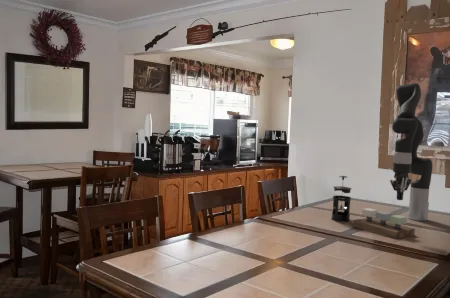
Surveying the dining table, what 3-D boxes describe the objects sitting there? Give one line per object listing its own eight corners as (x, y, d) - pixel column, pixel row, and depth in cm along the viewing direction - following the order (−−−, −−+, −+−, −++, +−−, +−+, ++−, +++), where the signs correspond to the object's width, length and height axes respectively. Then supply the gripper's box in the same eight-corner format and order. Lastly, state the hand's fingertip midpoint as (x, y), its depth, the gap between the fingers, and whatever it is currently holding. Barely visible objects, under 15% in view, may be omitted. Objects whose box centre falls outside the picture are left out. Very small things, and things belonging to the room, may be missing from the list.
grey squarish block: (381, 222, 203) (382, 211, 203) (390, 225, 199) (391, 213, 199) (375, 223, 201) (375, 212, 200) (384, 226, 197) (384, 214, 196)
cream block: (368, 219, 210) (369, 208, 210) (376, 221, 206) (377, 210, 206) (361, 220, 208) (362, 208, 207) (369, 222, 203) (370, 210, 203)
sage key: (396, 226, 197) (397, 214, 196) (405, 229, 193) (406, 217, 192) (389, 228, 194) (390, 215, 194) (399, 230, 190) (399, 218, 189)
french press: (342, 223, 212) (345, 177, 210) (326, 219, 219) (329, 175, 217) (355, 220, 220) (357, 176, 218) (339, 216, 227) (342, 174, 225)
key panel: (371, 223, 214) (371, 217, 214) (414, 235, 194) (414, 228, 194) (352, 225, 207) (353, 219, 206) (395, 238, 186) (395, 232, 186)
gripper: (404, 161, 198) (401, 197, 199) (386, 161, 191) (383, 199, 192) (418, 162, 192) (415, 200, 193) (400, 163, 185) (397, 202, 186)
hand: (399, 199), depth 192 cm, fingers closed
